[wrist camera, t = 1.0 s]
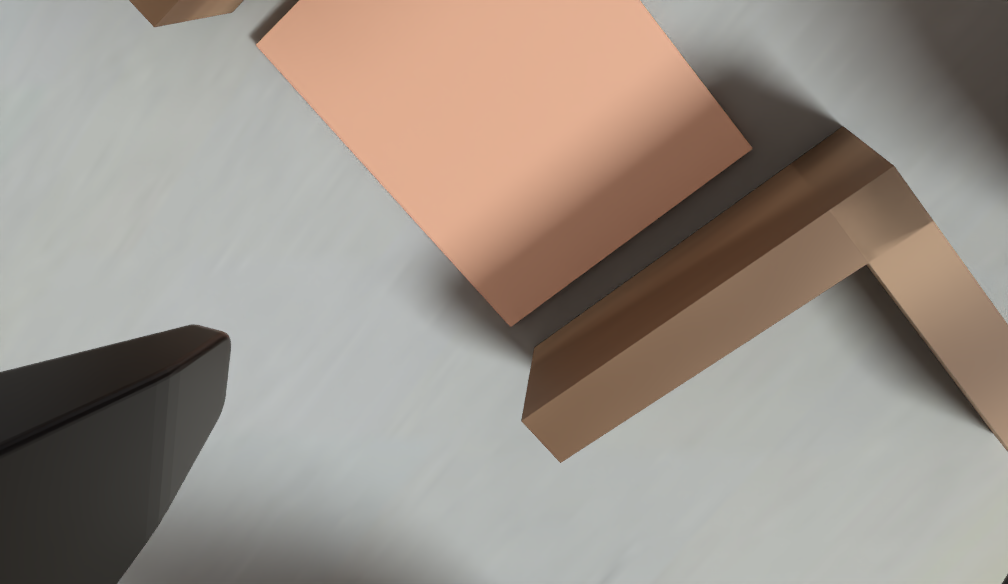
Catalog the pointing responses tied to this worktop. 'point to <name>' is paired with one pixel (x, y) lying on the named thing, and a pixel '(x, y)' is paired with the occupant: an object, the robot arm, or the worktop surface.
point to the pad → (511, 125)
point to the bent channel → (752, 288)
